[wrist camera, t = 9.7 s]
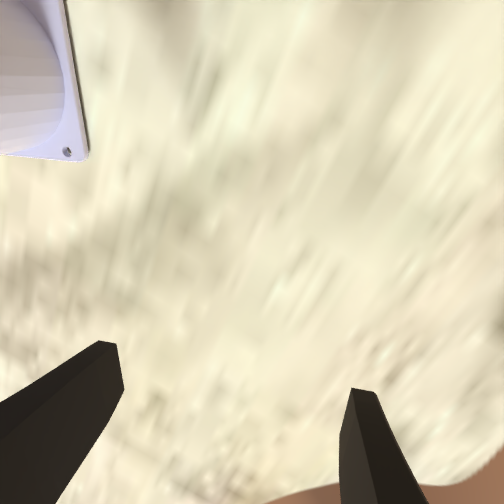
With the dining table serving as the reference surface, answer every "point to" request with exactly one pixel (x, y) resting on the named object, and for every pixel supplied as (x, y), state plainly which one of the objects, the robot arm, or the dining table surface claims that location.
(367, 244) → the dining table surface
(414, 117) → the dining table surface
